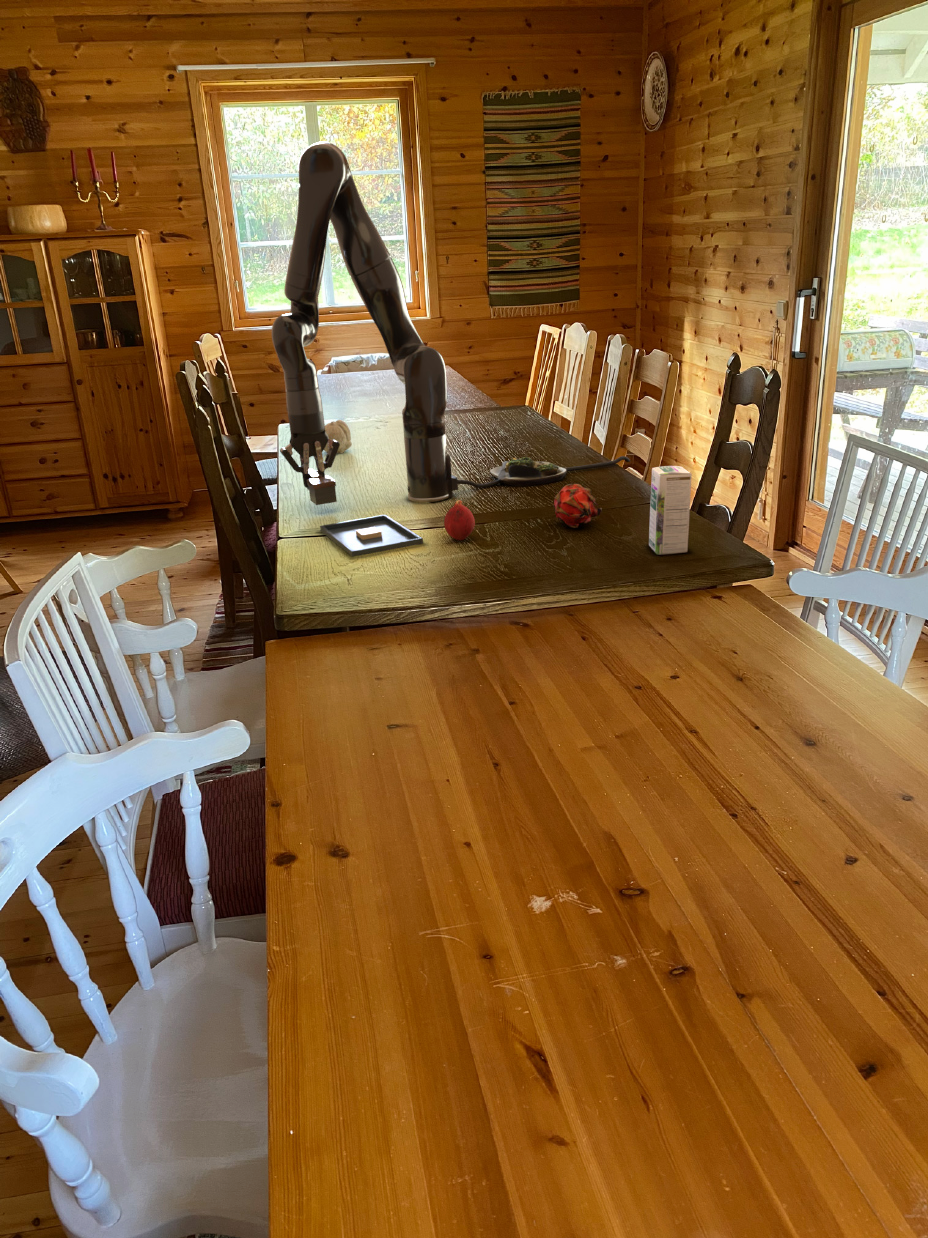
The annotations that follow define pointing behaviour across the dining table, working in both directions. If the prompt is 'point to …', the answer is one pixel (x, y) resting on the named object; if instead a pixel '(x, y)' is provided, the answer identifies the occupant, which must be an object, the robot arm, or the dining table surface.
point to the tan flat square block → (368, 533)
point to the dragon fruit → (575, 505)
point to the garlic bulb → (338, 435)
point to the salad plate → (527, 472)
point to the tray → (355, 546)
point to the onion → (459, 521)
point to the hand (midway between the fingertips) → (315, 488)
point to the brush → (321, 488)
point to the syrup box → (669, 510)
